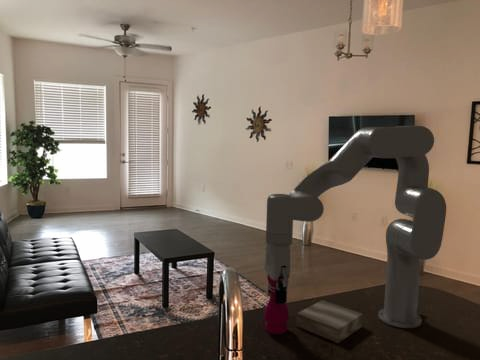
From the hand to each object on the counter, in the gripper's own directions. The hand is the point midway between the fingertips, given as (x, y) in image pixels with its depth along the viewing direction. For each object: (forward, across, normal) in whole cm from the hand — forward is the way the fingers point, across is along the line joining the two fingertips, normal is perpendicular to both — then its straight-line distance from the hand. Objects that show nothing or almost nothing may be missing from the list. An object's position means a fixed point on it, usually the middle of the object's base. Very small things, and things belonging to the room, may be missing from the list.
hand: (277, 297), depth 119 cm
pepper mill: (+10, 0, 0) cm, 10 cm away
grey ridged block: (+10, +1, +16) cm, 19 cm away
